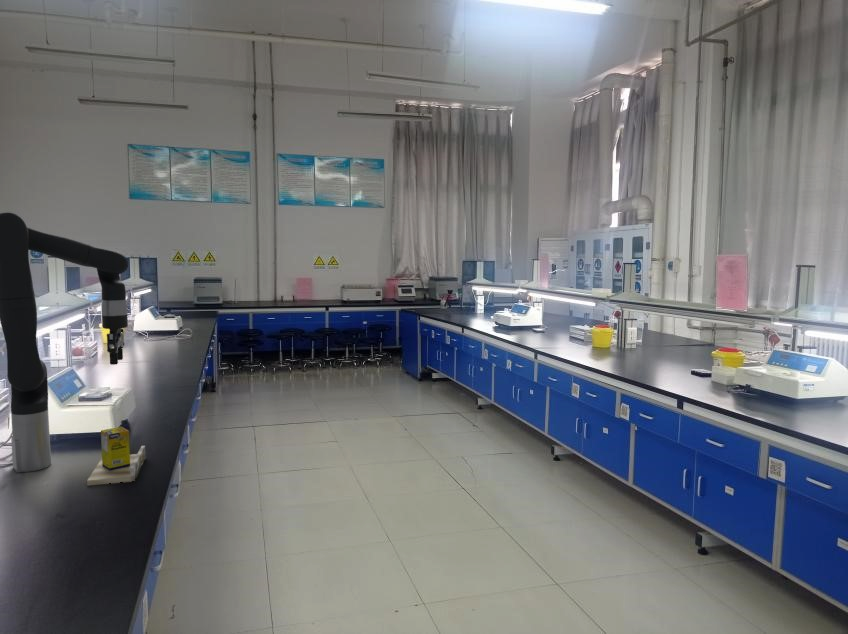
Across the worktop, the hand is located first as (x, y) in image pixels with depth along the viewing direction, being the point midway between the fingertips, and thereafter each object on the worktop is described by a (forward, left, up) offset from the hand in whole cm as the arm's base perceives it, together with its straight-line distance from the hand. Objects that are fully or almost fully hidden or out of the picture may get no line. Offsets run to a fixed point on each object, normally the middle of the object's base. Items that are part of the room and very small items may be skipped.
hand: (116, 362), depth 198 cm
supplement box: (-8, -26, -27) cm, 38 cm away
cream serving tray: (-8, -26, -28) cm, 39 cm away
